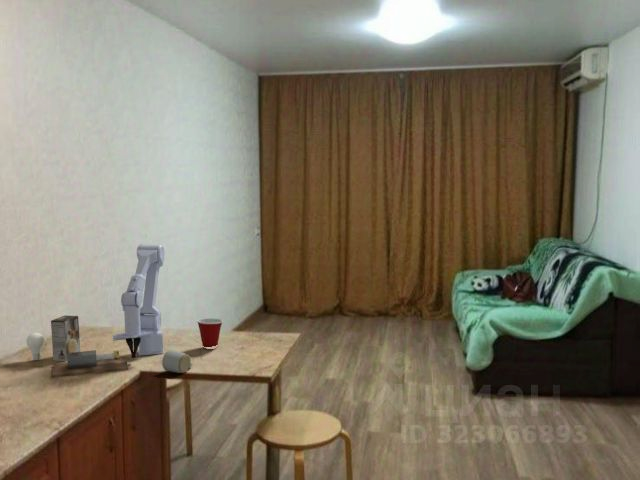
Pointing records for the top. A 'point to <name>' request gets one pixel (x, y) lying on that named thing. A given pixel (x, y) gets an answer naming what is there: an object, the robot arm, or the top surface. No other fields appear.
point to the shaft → (108, 356)
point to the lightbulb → (35, 344)
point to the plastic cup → (209, 331)
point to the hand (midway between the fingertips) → (133, 357)
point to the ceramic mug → (176, 361)
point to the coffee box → (65, 337)
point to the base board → (102, 366)
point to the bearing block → (81, 360)
